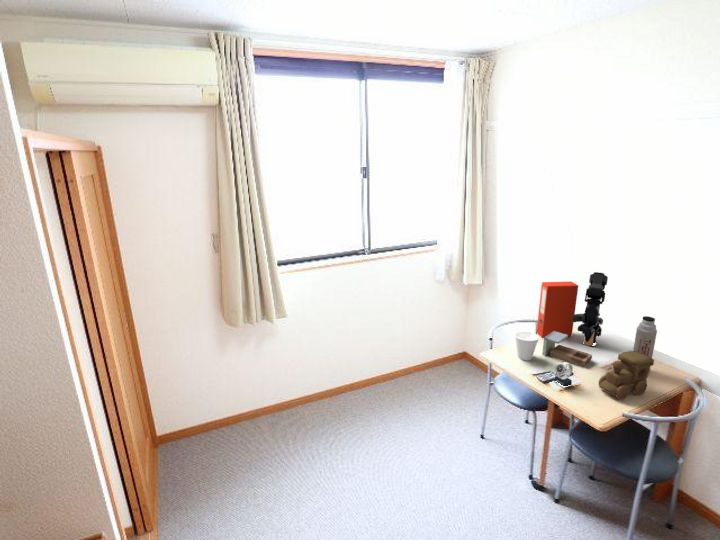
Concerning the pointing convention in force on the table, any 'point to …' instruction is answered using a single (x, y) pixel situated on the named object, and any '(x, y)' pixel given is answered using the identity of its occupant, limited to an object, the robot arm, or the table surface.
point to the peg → (589, 341)
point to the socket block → (571, 355)
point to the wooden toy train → (627, 375)
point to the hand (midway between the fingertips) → (588, 340)
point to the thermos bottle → (645, 337)
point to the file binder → (557, 308)
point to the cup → (526, 344)
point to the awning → (552, 341)
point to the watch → (561, 370)
